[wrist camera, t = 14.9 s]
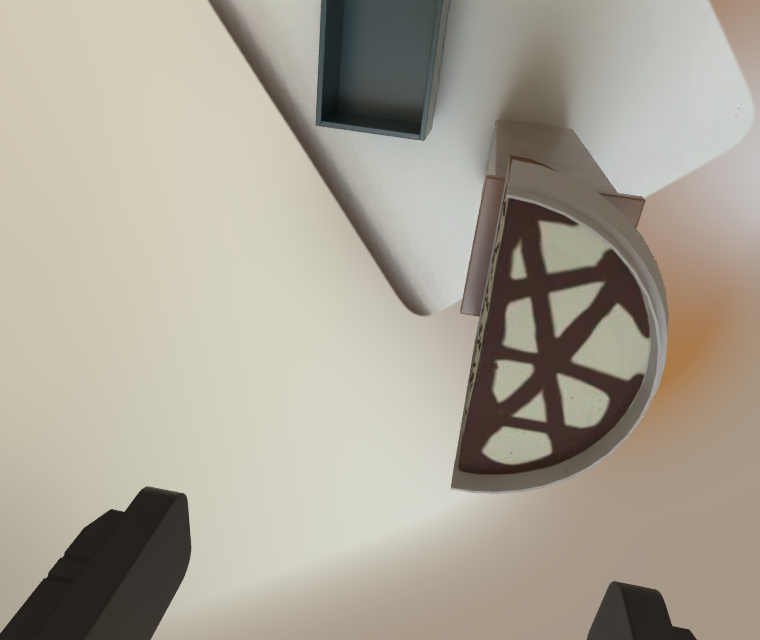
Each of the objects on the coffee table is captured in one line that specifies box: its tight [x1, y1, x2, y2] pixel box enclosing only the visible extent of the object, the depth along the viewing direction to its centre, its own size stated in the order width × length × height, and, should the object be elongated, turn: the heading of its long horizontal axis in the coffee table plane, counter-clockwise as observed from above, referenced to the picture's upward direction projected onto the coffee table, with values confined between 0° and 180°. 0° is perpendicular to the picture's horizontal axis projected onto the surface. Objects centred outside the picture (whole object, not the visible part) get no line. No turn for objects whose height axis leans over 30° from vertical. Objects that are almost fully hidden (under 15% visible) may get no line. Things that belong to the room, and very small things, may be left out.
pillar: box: [481, 120, 618, 199], centre depth 37 cm, size 6×6×21 cm
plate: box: [461, 174, 645, 317], centre depth 27 cm, size 7×7×1 cm
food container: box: [451, 155, 668, 494], centre depth 23 cm, size 12×6×10 cm, turn 175°
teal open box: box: [316, 0, 450, 141], centre depth 41 cm, size 8×14×5 cm, turn 174°
